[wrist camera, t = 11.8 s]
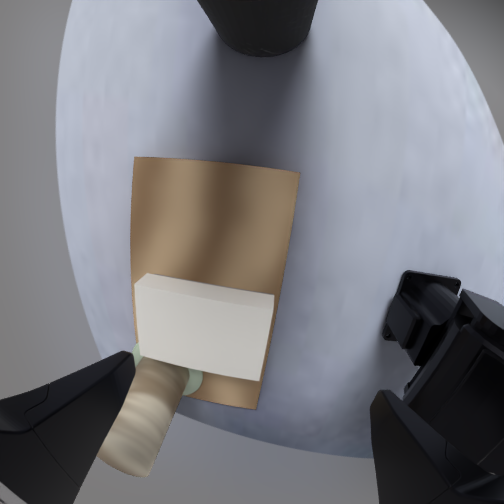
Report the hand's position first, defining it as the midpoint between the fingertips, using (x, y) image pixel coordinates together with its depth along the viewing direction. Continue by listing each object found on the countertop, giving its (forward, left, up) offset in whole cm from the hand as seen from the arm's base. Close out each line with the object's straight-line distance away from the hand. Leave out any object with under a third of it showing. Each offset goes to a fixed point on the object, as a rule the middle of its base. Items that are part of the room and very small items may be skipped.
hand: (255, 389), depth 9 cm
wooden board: (+5, +4, -13) cm, 14 cm away
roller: (+8, +12, -12) cm, 18 cm away
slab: (+4, +4, -12) cm, 13 cm away
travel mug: (+3, -19, -13) cm, 23 cm away
